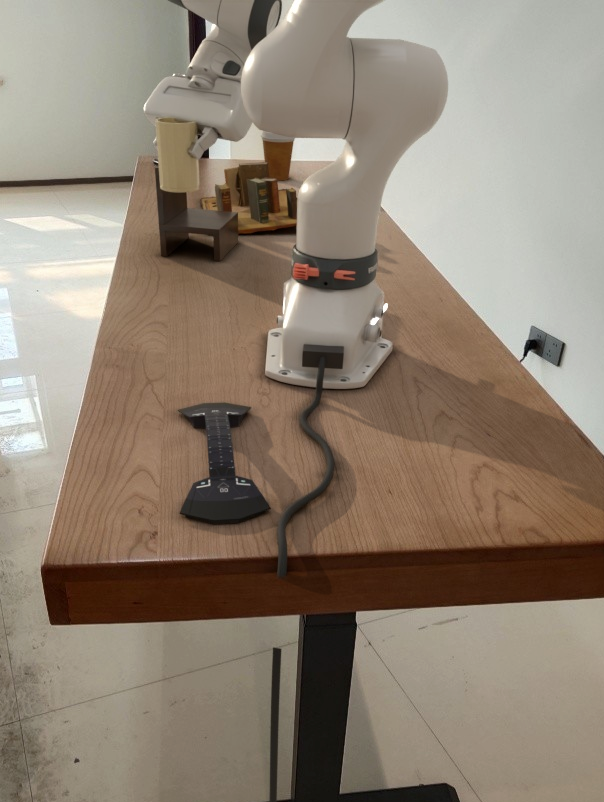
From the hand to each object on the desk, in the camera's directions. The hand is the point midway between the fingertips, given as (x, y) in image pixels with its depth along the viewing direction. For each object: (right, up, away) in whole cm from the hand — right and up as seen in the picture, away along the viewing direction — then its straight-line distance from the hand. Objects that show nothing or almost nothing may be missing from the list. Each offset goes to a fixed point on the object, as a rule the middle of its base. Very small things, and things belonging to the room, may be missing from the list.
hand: (175, 152), depth 117 cm
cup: (0, -4, +4) cm, 5 cm away
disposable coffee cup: (+14, +36, +91) cm, 99 cm away
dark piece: (+11, -51, -35) cm, 63 cm away
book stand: (+9, +10, +54) cm, 56 cm away
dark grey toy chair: (0, -4, +32) cm, 32 cm away
